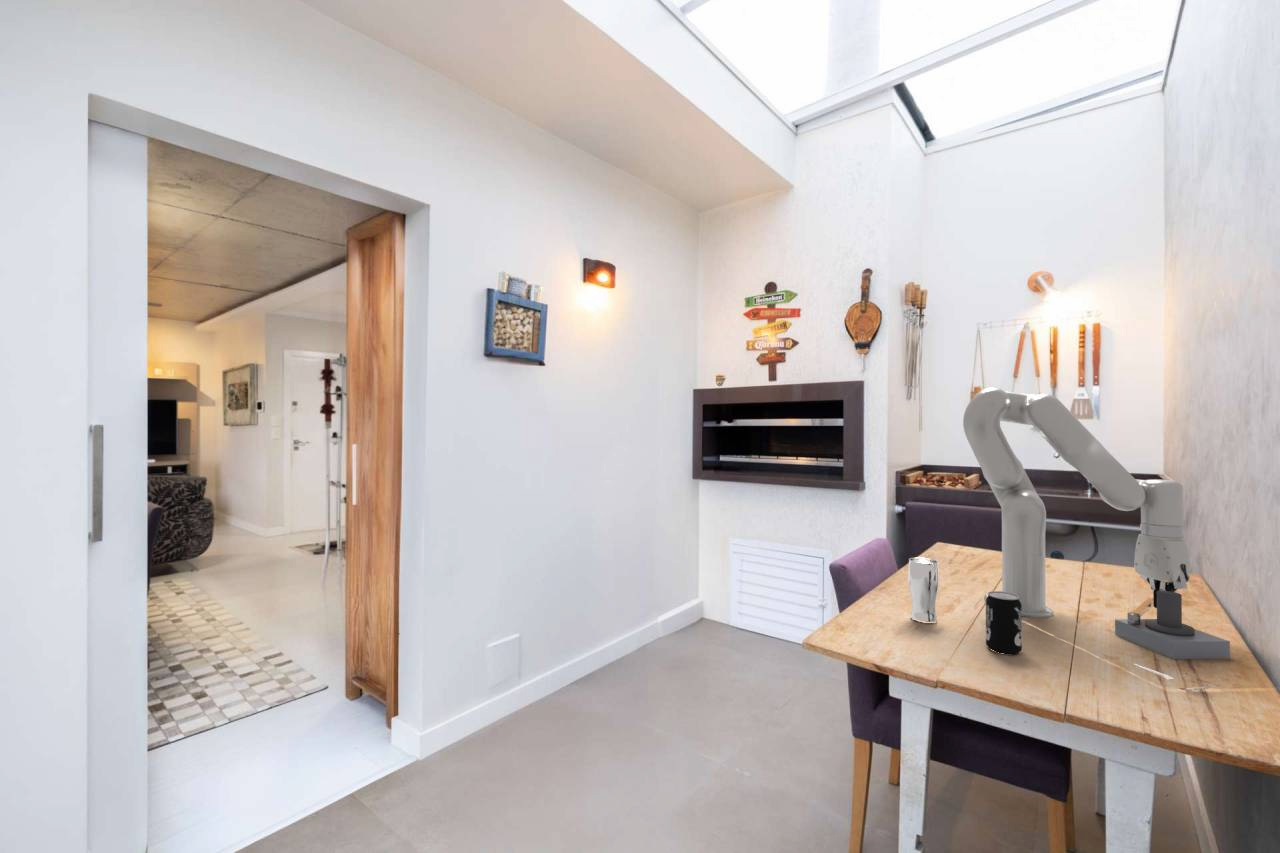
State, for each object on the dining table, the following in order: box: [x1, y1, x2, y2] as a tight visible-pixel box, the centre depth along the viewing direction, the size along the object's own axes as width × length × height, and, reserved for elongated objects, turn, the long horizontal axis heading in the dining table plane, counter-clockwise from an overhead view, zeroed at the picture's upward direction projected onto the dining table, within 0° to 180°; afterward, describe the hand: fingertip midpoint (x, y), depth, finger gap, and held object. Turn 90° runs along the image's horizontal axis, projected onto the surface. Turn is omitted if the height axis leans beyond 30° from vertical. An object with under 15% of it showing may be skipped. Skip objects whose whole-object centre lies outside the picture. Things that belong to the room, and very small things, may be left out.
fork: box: [1133, 663, 1211, 691], centre depth 113 cm, size 3×20×2 cm, turn 8°
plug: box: [1145, 591, 1196, 636], centre depth 125 cm, size 8×8×12 cm
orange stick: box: [1126, 597, 1154, 625], centre depth 134 cm, size 20×2×2 cm, turn 129°
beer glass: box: [907, 557, 940, 622], centre depth 144 cm, size 7×7×15 cm
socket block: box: [1114, 618, 1231, 660], centre depth 125 cm, size 12×14×4 cm
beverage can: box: [985, 590, 1023, 656], centre depth 124 cm, size 7×7×12 cm
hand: (1163, 608), depth 136 cm, fingers closed
